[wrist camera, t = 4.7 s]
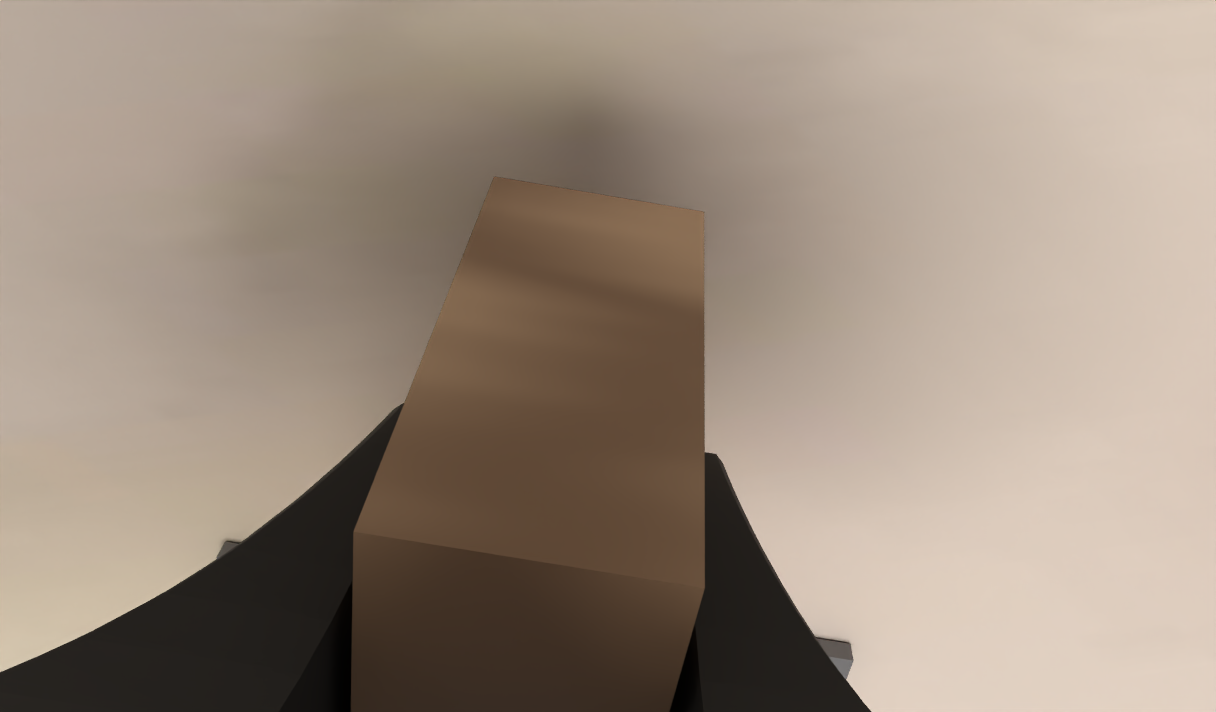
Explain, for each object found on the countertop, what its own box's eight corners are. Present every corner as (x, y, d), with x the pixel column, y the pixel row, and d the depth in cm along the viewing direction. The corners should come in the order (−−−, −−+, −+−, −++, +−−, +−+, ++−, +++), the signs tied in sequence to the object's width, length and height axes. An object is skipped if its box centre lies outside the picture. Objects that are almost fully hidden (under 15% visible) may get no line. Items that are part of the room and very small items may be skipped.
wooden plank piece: (443, 710, 18) (345, 1116, 13) (493, 176, 12) (354, 531, 7) (588, 733, 18) (544, 1146, 13) (703, 211, 12) (704, 588, 7)
